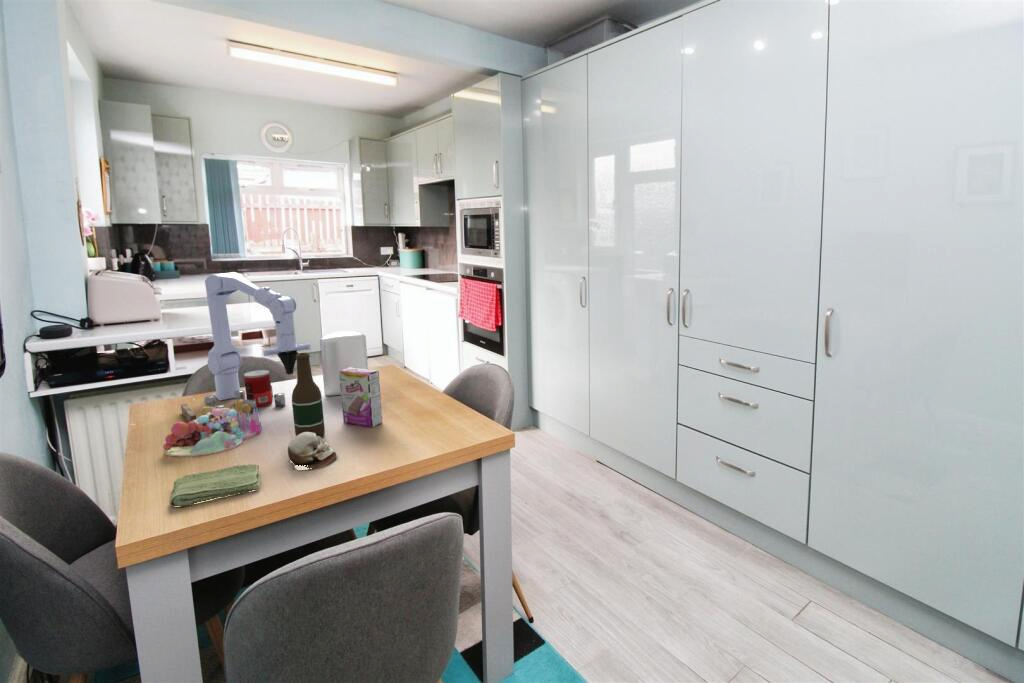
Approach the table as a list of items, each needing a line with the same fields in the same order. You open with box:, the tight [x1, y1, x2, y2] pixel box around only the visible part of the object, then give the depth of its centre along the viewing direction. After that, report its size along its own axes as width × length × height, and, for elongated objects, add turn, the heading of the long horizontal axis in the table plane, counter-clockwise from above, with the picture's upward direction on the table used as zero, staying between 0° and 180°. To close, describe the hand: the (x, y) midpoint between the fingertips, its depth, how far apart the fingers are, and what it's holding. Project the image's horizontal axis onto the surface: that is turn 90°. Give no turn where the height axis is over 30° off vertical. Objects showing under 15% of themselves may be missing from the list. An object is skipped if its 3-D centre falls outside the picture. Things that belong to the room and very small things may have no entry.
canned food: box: [243, 369, 273, 409], centre depth 183 cm, size 8×8×11 cm
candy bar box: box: [339, 367, 383, 428], centre depth 161 cm, size 11×5×16 cm, turn 65°
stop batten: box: [180, 403, 198, 423], centre depth 170 cm, size 16×2×3 cm, turn 40°
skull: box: [287, 432, 337, 470], centre depth 136 cm, size 12×10×10 cm
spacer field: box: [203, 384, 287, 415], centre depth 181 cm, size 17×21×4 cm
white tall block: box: [319, 330, 369, 397], centre depth 196 cm, size 15×14×22 cm
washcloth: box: [169, 463, 261, 508], centre depth 122 cm, size 13×18×3 cm
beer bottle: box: [291, 352, 326, 439], centre depth 150 cm, size 8×8×24 cm
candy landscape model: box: [163, 399, 263, 458], centre depth 153 cm, size 25×24×9 cm
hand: (289, 373), depth 182 cm, fingers closed
